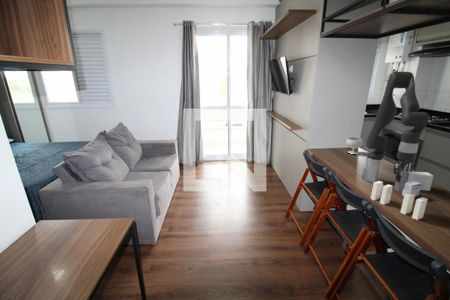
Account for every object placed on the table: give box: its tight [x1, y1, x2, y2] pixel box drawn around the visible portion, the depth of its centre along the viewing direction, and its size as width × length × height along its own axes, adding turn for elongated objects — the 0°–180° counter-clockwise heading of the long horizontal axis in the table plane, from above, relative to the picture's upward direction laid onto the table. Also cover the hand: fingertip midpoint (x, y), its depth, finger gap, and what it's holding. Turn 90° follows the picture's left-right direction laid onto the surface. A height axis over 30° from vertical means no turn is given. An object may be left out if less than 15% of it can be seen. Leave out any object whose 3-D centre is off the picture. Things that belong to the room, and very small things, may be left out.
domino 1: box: [370, 180, 384, 201], centre depth 131 cm, size 2×5×11 cm, turn 113°
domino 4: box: [399, 192, 416, 215], centre depth 117 cm, size 2×5×11 cm, turn 113°
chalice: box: [345, 136, 364, 156], centre depth 213 cm, size 14×14×15 cm
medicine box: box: [401, 181, 421, 198], centre depth 133 cm, size 8×4×9 cm, turn 106°
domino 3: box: [393, 169, 409, 192], centre depth 118 cm, size 2×5×11 cm, turn 113°
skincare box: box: [406, 171, 434, 191], centre depth 142 cm, size 10×6×10 cm, turn 73°
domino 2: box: [379, 184, 394, 206], centre depth 126 cm, size 2×5×11 cm, turn 113°
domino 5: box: [411, 196, 428, 221], centre depth 112 cm, size 2×5×11 cm, turn 113°
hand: (400, 179), depth 118 cm, fingers closed on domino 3, 5 cm apart
